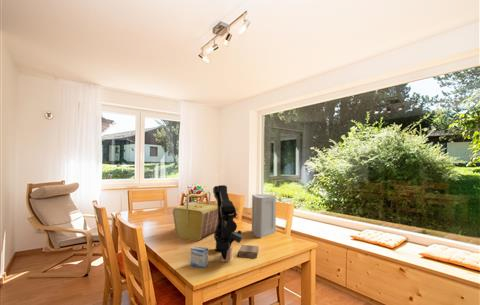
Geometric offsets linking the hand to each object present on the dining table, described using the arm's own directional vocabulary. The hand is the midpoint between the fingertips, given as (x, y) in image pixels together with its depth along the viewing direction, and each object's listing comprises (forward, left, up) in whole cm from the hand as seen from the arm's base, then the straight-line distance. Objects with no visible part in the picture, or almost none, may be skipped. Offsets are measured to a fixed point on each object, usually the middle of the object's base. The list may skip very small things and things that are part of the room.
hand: (226, 256), depth 128 cm
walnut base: (+11, +10, -2) cm, 15 cm away
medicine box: (-12, -10, -2) cm, 16 cm away
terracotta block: (0, 0, -2) cm, 2 cm away
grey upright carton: (+14, +51, -2) cm, 53 cm away
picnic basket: (-29, +38, -2) cm, 48 cm away
